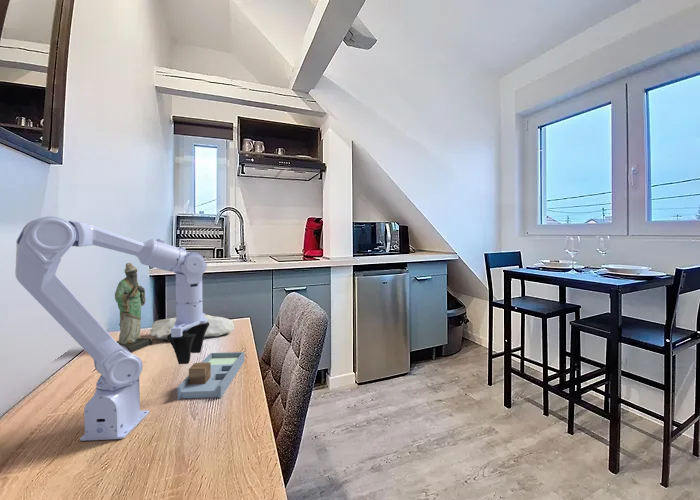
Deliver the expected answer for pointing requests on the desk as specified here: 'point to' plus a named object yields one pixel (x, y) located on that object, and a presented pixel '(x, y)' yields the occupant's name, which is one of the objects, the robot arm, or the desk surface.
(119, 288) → the figurine
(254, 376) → the desk surface
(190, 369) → the block
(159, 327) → the stone
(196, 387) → the box
